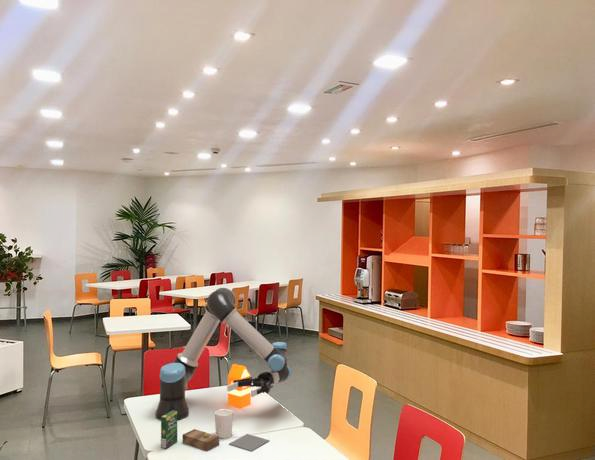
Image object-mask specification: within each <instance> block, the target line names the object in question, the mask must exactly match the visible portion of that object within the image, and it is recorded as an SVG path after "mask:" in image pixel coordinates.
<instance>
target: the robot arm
mask: <svg viewBox="0 0 595 460" xmlns="http://www.w3.org/2000/svg"><path fill="white" fill-rule="evenodd" d="M235 304H236V295H235V293H234V292H233V291H232V290H231V289H230V288H227V287H219V288H218V289H216V290H214V291H213V292H210V294H209V295H208V297H207V300H206V305H205V307H204V309H205V312H204V315H203V316H202V318H201V319H200V321H199V323H198V325H197V326H196V328H195V330H194V332H193V333H192V335H191V337H190V338H189V340H188V341H187V344H186V345H185V348H184V349H183V351H182V352H179V353H177V355H176V356H175V359H174V360H173V362H170V363H167V364H165V365H163V366H161V368H160V371H159V401H158V404H157V405H158V406H157V409H156V410H155V417H157V418H158V419H157V418H156V419H157V420H159V419H160V420H159V421H161V417H162V416H164V415H165V414H167V413H169V412H170V411H172V410H174V411H177V421H178V420H179V421H180V420H182V419H185V418H187V417H189V406H188V403H187V399H186V385H187V383H189V381H191V379H192V378H193V377H194V374H195V371H196V369H197V368H198V366H199V361H198V360H199V359H200V357H201V355H202V353H203V352H204V350H205V348H206V347H207V344H208V343H209V341H210V340H211V338H212V336H213V334H214V333H215V331H216V329H217V327H218V326H219V324H220V323H221V324H226V325H227V327H229V328H230V329H231V330H232V331H233V332H234V333H235V334H236V335H238V337H240V338H241V340H243V342H245V343H246V344H247V345H248V346H249V347H250V348H251V349H252V350H253V351H255V353H257V355H258V356H260V358H261V359H263V361H265V362H266V363H267V366H268V368H269V369H268V370H266V371H263V372H261V373H260V374H258V375H257V377H255V378H253V377H252V376H251V377H249V378H245V379H240V380H234V381H233V384H231V385H228V384H227V388H226V389H227V393H228V392H230V391H232V390H235V389H237V388H238V387H245V386H250V387H251V388H252V387H256V388H254V389H251V398H253V397H256V396H258V395H261V394H265V393H266V394H269V393H270V391H271V389H272V388H273V387H274V386H275V385H277V384H279V383H282V382H285V381H286V380H288V379H289V378H291V375H292V369H291V368H290V366H289V365H288V363H287V362H288V352H287V351H288V348H287V347H288V345H287V343H286V342H283V341H276V342H275V341H274V342H273V343H271V342H270V341H268V339H266V338H265V337H264V336H263V335H262V334H261V333H260V332H259V331H258V330H257V329H256V328H255V327H254V326H253V325H252V324H251V323H249V321H247V320H246V319H245V318H244V317H243V316H242V315H241V314H240V313H239V312H238V311H237V307H236V306H235Z"/></svg>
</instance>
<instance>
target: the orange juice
mask: <svg viewBox="0 0 595 460" xmlns="http://www.w3.org/2000/svg"><path fill="white" fill-rule="evenodd" d="M249 377H252V376H251V374H250V373H249V371H248V369H247V367H246V366H245V365H241V364H240V365H239V364H236V363H232V366H231V368H230V370H229V373H228V375H227V386H228V385H231V384H233V381H234V380H240V379H245V378H249ZM251 388H252V387H250V386H245V387H238V388H237V389H235V390H232V391H230V392H228V391H227V405H228V406H231V407H234V408H238V409H243V408H245V407H248V406H250V405H252V404H251V403H252V401H251V398H252V397H251V390H252V389H251Z"/></svg>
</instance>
